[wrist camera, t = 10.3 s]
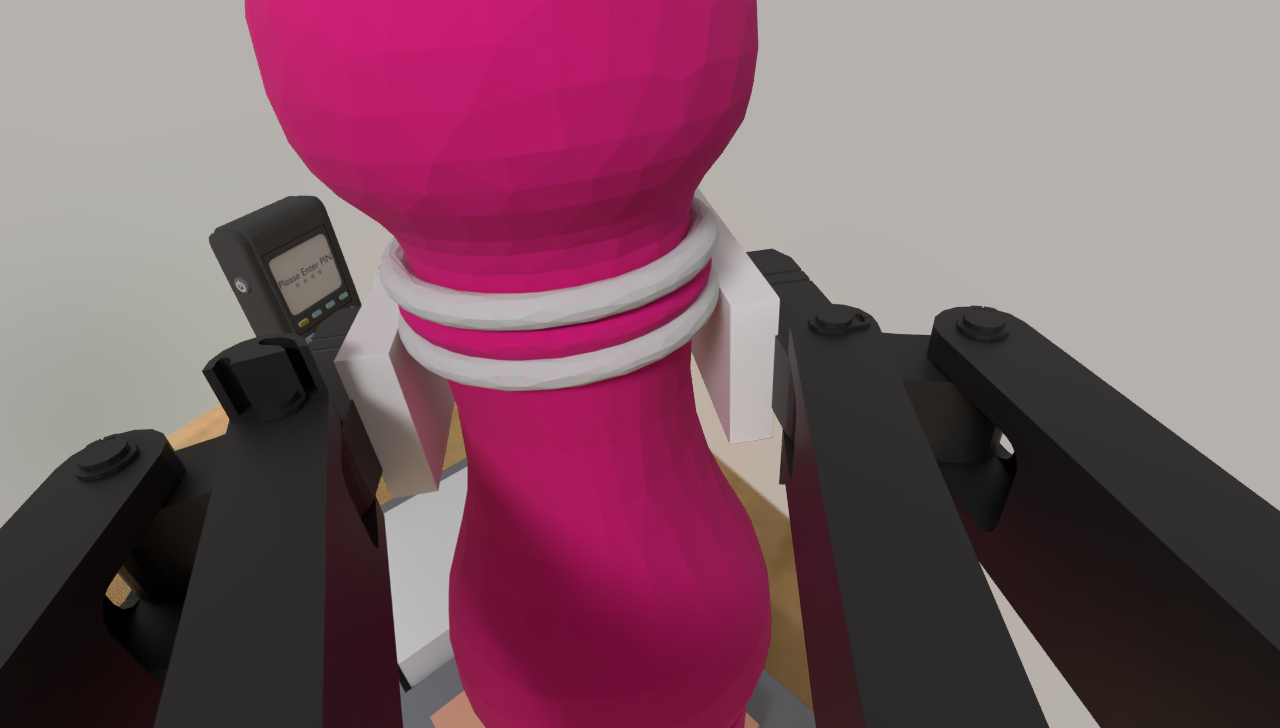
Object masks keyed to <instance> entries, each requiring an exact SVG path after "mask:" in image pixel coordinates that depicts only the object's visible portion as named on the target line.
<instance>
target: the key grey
mask: <svg viewBox="0 0 1280 728" xmlns="http://www.w3.org/2000/svg"><path fill="white" fill-rule="evenodd" d="M466 494H467V467H465V468H464V469H462V470H460V471H458V472H456V473H455V474H453V475H451V476H449V477H448V478H446V479H444V480H442V481H441V482H440V485H439V490H438V491H436V492H430V493H424V494H418V495H416V496H414V497H412V498H410V499H409V500H407V501H405V502H403V503H402V504H400V505H398V506H396V507H395V508H393V509H391V510H389V511H387V512H386V513H384V516H385V528H386V539H387V550H388V561H389V573H390V584H391V595H392V606H393V617H394V629H395V640H396V651H397V662H398V666H399V667H400V669H401V671H402V673H403V674H404V676H405V678H406V680H407V681H408V683H409V685H410V686H411V688H413V687H414V686H416V685H417V684H418V683H420V682H421V681H422V680H424V679H425V678H427V677H428V676H429V675H431V674H432V673H433V672H435V671H436V670H437V669H439V668H440V667H441V666H443V665H444V664H446V663H447V662H448V661H450V660H451V659H452V658H454V653H453V649H452V646H451V642H450V634H449V611H448V607H449V574H450V570H451V565H452V561H453V557H454V552H455V548H456V543H457V539H458V535H459V530H460V526H461V522H462V517H463V511H464V505H465V500H466Z"/></svg>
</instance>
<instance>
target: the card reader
mask: <svg viewBox="0 0 1280 728" xmlns="http://www.w3.org/2000/svg"><path fill="white" fill-rule="evenodd" d="M209 242H210V245H211V248H212V250H213V252H214V254H215V256H216V258H217V260H218V262H219V264H220V266H221V268H222V270H223V272H224V274H225V276H226V278H227V280H228V282H229V284H230V286H231V288H232V290H233V292H234V293H235V295H236V297H237V299H238V301H239V303H240V305H241V307H242V309H243V311H244V313H245V315H246V317H247V319H248V321H249V323H250V325H251V327H252V329H253V331H254V333H255V335H256V337H259V336H264V335H270V334H276V333H294V334H297V335H299V336H302V337H304V338H305V340H306V342H307V344H308V343H309V342H310V341H312V339H311V338H312V337H313V335H314V333H315V332H316V330H317V328H318V327H319V325H320V323H322V322H323V321H324V320H326V319H327V318H328V317H329V316H331V315H332V314H333V313H335V312H336V311H337V310H338V309H344V308H351V307H359V306H362V305H361V302H360V299H359V297H358V294H357V291H356V288H355V286H354V283H353V280H352V278H351V275H350V272H349V270H348V267H347V264H346V262H345V259H344V256H343V254H342V251H341V248H340V246H339V243H338V240H337V238H336V235H335V232H334V230H333V227H332V224H331V222H330V219H329V216H328V214H327V211H326V209H325V207H324V205H323V203H322V202H321V201H320V200H319V199H318V198H317V197H315V196H289V197H286V198H284V199H282V200H279V201H277V202H275V203H272V204H270V205H268V206H266V207H263V208H261V209H259V210H257V211H254V212H252V213H250V214H247V215H245V216H243V217H241V218H238V219H236V220H234V221H232V222H229V223H227V224H225V225H223V226H220V227H218V228H216V229H215V231H214V233H213V234H211V235H210V237H209Z"/></svg>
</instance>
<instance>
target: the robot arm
mask: <svg viewBox="0 0 1280 728" xmlns="http://www.w3.org/2000/svg"><path fill="white" fill-rule="evenodd" d="M694 197H696V198H698V199H700V200H701V201H702V202H703V203H704V204H705V205H706V206H707V207H708V208H709V209H710V210H711V211H712V213H713V214H714V216H715V218H716V221H717V224H718V229H719V235H718V241H717V245H716V248H715V251H714V253H713V255H712V266H713V268H714V270H715V272H716V274H717V278H718V282H719V296H718V301H717V304H716V307H715V310H714V312H713V313H712V315H711V317H710V319H709V321H708V322H707V324H706V325H705V326H704V327H703V328H702V329H701V330H700V331H699V332H698V333H697V334H696V335H695V336H694V337H693V338H692V346H691V351H692V353H693V356H694V358H695V361H696V363H697V366H698V368H699V371H700V373H701V375H702V378H703V380H704V383H705V385H706V388H707V390H708V392H709V395H710V397H711V400H712V402H713V405H714V407H715V409H716V412H717V414H718V417H719V419H720V422H721V424H722V426H723V429H724V431H725V434H726V436H727V439H728V441H729V444H736V443H742V442H748V441H755V440H761V439H768V438H772V435H773V416H774V415H773V414H774V413H775V414H776V417H777V419H778V420H779V422H780V424H781V425H782V428H783V434H782V450H781V466H780V480H779V484H786V492H787V500H788V508H789V516H790V524H791V532H792V540H793V549H794V557H795V565H796V573H797V581H798V589H799V597H800V605H801V613H802V621H803V629H804V637H805V645H806V653H807V661H808V669H809V677H810V685H811V693H812V701H813V709H814V717H815V725H816V728H1049V726H1048V724H1047V721H1046V719H1045V716H1044V714H1043V712H1042V710H1041V707H1040V705H1039V702H1038V700H1037V698H1036V695H1035V693H1034V691H1033V688H1032V686H1031V683H1030V681H1029V679H1028V676H1027V674H1026V672H1025V669H1024V667H1023V665H1022V662H1021V660H1020V658H1019V655H1018V653H1017V650H1016V648H1015V646H1014V643H1013V641H1012V639H1011V637H1010V634H1009V632H1008V629H1007V627H1006V624H1005V622H1004V620H1003V618H1002V615H1001V613H1000V610H999V608H998V606H997V603H996V601H995V599H994V596H993V594H992V591H991V589H990V587H989V584H988V582H987V580H986V577H985V575H984V573H983V570H982V568H981V566H980V563H981V565H982V566H983V567H984V569H985V570H986V572H987V573H988V574H989V575H990V577H991V578H992V580H993V581H994V583H995V584H996V585H997V587H998V588H999V589H1000V591H1001V592H1002V593H1003V595H1004V596H1005V598H1006V599H1007V600H1008V601H1009V603H1010V604H1011V606H1012V607H1013V608H1014V610H1015V611H1016V613H1017V614H1018V615H1019V617H1020V618H1021V619H1022V620H1023V622H1024V623H1025V625H1026V626H1027V627H1028V629H1029V630H1030V632H1031V633H1032V634H1033V636H1034V637H1035V639H1036V640H1037V641H1038V642H1039V644H1040V645H1041V647H1042V648H1043V649H1044V651H1045V652H1046V653H1047V655H1048V656H1049V658H1050V659H1051V660H1052V662H1053V663H1054V664H1055V666H1056V667H1057V669H1058V670H1059V671H1060V673H1061V674H1062V675H1063V677H1064V678H1065V680H1066V681H1067V682H1068V684H1069V685H1070V686H1071V688H1072V689H1073V690H1074V692H1075V693H1076V694H1077V696H1078V697H1079V699H1080V700H1081V701H1082V703H1083V704H1084V705H1085V707H1086V708H1087V709H1088V711H1089V712H1090V714H1091V715H1092V716H1093V718H1094V719H1095V721H1096V722H1097V723H1098V725H1099V726H1100V727H1101V728H1280V511H1279V510H1277V509H1276V508H1275V507H1273V506H1272V505H1271V504H1269V503H1268V502H1267V501H1265V500H1264V499H1263V498H1261V497H1260V496H1258V495H1257V494H1256V493H1255V492H1253V491H1252V490H1250V489H1249V488H1248V487H1246V486H1245V485H1244V484H1242V483H1241V482H1240V481H1238V480H1237V479H1236V478H1234V477H1233V476H1231V475H1230V474H1229V473H1227V472H1226V471H1225V470H1224V469H1222V468H1221V467H1219V466H1218V465H1217V464H1215V463H1214V462H1213V461H1211V460H1210V459H1209V458H1207V457H1206V456H1205V455H1203V454H1202V453H1200V452H1199V451H1198V450H1196V449H1195V448H1194V447H1193V446H1191V445H1190V444H1188V443H1187V442H1186V441H1184V440H1183V439H1182V438H1180V437H1179V436H1178V435H1176V434H1175V433H1174V432H1172V431H1171V430H1170V429H1168V428H1167V427H1166V426H1164V425H1163V424H1161V423H1160V422H1159V421H1157V420H1156V419H1155V418H1153V417H1152V416H1151V415H1149V414H1148V413H1146V412H1145V411H1144V410H1143V409H1141V408H1140V407H1138V406H1137V405H1136V404H1134V403H1133V402H1132V401H1130V400H1129V399H1128V398H1126V397H1125V396H1124V395H1122V394H1121V393H1120V392H1118V391H1117V390H1116V389H1114V388H1113V387H1112V386H1110V385H1109V384H1107V383H1106V382H1105V381H1103V380H1102V379H1101V378H1099V377H1098V376H1097V375H1095V374H1094V373H1093V372H1091V371H1090V370H1089V369H1087V368H1086V367H1085V366H1083V365H1082V364H1081V363H1079V362H1078V361H1077V360H1075V359H1074V358H1072V357H1071V356H1070V355H1068V354H1067V353H1066V352H1064V351H1063V350H1062V349H1060V348H1059V347H1058V346H1056V345H1055V344H1053V343H1052V342H1051V341H1050V340H1048V339H1047V338H1045V337H1044V336H1043V335H1041V334H1040V333H1039V332H1037V331H1036V330H1035V329H1033V328H1032V327H1031V326H1029V325H1028V324H1026V323H1025V322H1024V321H1022V320H1020V319H1018V318H1016V317H1014V316H1013V315H1011V314H1008V313H1005V312H1001V311H998V310H996V309H994V308H990V307H984V308H982V306H970V307H955V308H951V309H948V310H944V311H942V312H941V313H940V314H938V315H937V316H936V317H935V320H934V324H933V329H932V333H931V335H909V334H891V333H882V332H881V330H880V327H879V325H878V323H877V322H876V321H875V319H874V318H873V317H872V316H871V315H869V314H868V313H866V312H864V311H862V310H860V309H858V308H854V307H850V306H846V305H839V304H832V303H831V302H830V301H829V300H828V299H827V298H826V296H824V294H823V293H822V292H821V291H820V290H819V289H818V287H817V286H816V285H815V284H814V283H813V282H812V281H810V280H809V277H808V276H807V275H806V274H805V273H804V272H803V271H801V268H800V267H799V266H798V265H797V264H796V263H795V261H794V260H793V259H792V258H791V257H789V256H787V255H784V254H782V253H780V252H778V251H776V250H774V249H766V250H760V251H752V252H745V251H744V249H743V248H742V247H741V245H740V244H739V243H738V242H737V240H736V239H735V237H734V236H733V235H732V233H731V232H730V231H729V229H728V228H727V227H726V225H725V224H724V223H723V221H722V220H721V218H720V217H719V216H718V214H717V213H716V212H715V210H714V209H713V208H712V206H711V205H710V204H709V202H708V201H707V200H706V198H705V197H704V195H703V194H702V193H701V191H700V190H699V189H698V187H697V189H696V190H695V193H694ZM399 313H400V312H399V307H398V304H397V303H396V302H395V301H394V300H393V299H391V298H390V297H389V296H388V294H387V293H386V291H385V289H384V287H383V285H382V283H381V281H380V274H379V272H378V274H377V276H376V278H375V280H374V282H373V284H372V286H371V288H370V290H369V292H368V294H367V296H366V298H365V301H364V302H363V304H362V306H359V307H351V308H344V309H338V310H337V311H336V312H335V313H333V314H332V315H331V316H329V317H328V318H327V319H326V320H324V321H323V322H322V323H320V325H319V327H318V328H317V330H316V332H315V333H314V335H313V337H312V338H311V339H312V341H310V342H309V343H308V344H307V342H306V340H305V338H304V337H302V336H299V335H297V334H294V333H276V334H270V335H264V336H259V337H256V338H253V339H250V340H247V341H243V342H240V343H238V344H236V345H234V346H232V347H230V348H229V349H226V350H224V351H222V352H221V353H220V354H218V355H217V356H215V357H214V358H213V359H212V360H210V361H209V362H208V364H207V365H206V366H205V368H204V369H203V370H202V372H203V374H204V376H205V377H206V379H207V381H208V382H209V384H210V386H211V388H212V390H213V391H214V393H215V395H216V396H217V398H218V400H219V402H220V403H221V405H222V407H223V409H224V410H225V412H226V414H227V416H228V417H229V419H230V420H229V424H228V428H227V432H226V434H225V435H222V436H219V437H217V438H214V439H211V440H207V441H204V442H201V443H198V444H195V445H192V446H189V447H186V448H183V449H180V450H177V451H174V449H173V448H172V446H171V445H170V443H169V441H168V440H167V438H166V437H165V436H164V434H163V433H161V432H158V431H155V430H153V429H148V430H147V429H146V430H133V431H129V432H125V433H120V434H113V435H110V436H107V437H104V439H103V440H101V439H99V440H97V441H95V442H93V443H90V444H89V445H87V446H86V448H84V449H83V450H81V451H79V452H78V453H76V454H74V455H72V456H71V457H70V458H68V459H67V460H66V461H65V462H64V463H63V464H61V465H60V466H59V467H58V468H57V469H55V470H54V471H53V473H52V474H51V475H50V476H49V477H48V478H47V479H46V480H45V481H44V482H43V483H42V484H41V485H40V487H39V488H38V489H37V490H36V491H35V492H34V493H33V494H32V495H31V496H30V497H29V498H28V499H27V500H26V502H25V503H24V504H23V505H22V506H21V507H20V508H19V509H18V510H17V511H16V512H15V513H14V514H13V516H12V517H11V518H10V519H9V520H8V521H7V522H6V523H5V524H4V525H3V526H2V527H1V528H0V728H403V718H402V707H401V696H400V685H399V673H398V662H397V651H396V640H395V629H394V617H393V606H392V595H391V584H390V573H389V561H388V550H387V539H386V528H385V516H384V514H383V512H382V509H381V507H380V505H379V503H378V500H377V498H376V496H375V495H376V491H377V488H378V485H379V481H380V478H381V475H382V476H383V478H384V481H385V483H386V485H387V488H388V490H389V492H390V495H391V497H392V499H393V498H399V497H405V496H411V495H418V494H424V493H430V492H436V491H438V490H439V485H440V479H441V474H442V468H443V463H444V457H445V451H446V446H447V440H448V435H449V429H450V423H451V418H452V412H453V407H454V401H455V399H454V396H453V394H452V392H451V389H450V387H449V384H448V382H447V379H446V378H444V377H441V376H439V375H437V374H435V373H433V372H431V371H429V370H427V369H426V368H425V367H423V366H422V365H421V364H420V363H419V362H418V361H417V360H415V359H414V358H413V357H412V356H411V355H410V354H409V353H408V352H407V350H406V348H405V346H404V344H403V342H402V341H401V338H400V334H399V330H398V316H399ZM1002 433H1003V434H1004V435H1005V436H1006V437H1007V438H1008V440H1009V441H1010V443H1011V444H1012V447H1013V449H1014V453H1013V455H1012V454H1010V453H1009V452H1008V451H1007V450H1006V449H1005V448H1004V447H1003V446H1002V445H1001V444H1000V439H1001V436H1002ZM979 562H980V563H979ZM117 573H118V574H119V575H120V576H121V578H122V579H123V580H124V581H125V582H126V583H127V584H128V586H129V587H130V588H131V589H132V590H131V592H130V594H129V595H128V597H127V598H126V600H125V601H124V602H123V603H122V604H121V605H120V606H119V607H118V606H116V605H114V604H113V603H112V602H111V600H110V599H109V598H108V597H107V596H106V595H105V594H106V591H107V589H108V587H109V585H110V583H111V582H112V580H113V579H114V577H115V576H116V574H117Z"/></svg>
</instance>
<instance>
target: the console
mask: <svg viewBox="0 0 1280 728" xmlns="http://www.w3.org/2000/svg"><path fill="white" fill-rule="evenodd" d="M465 467H467V458H465V459H464V460H462V461H460V462H458V463H457V464H455V465H453V466H451V467H449V468H448V469H446V470H444V471H442V474H441V479H440V482H441V481H442V480H444V479H446V478H448V477H449V476H451V475H453V474H455V473H456V472H458V471H460V470H462V469H464V468H465ZM414 496H416V495H411V496H405V497H399V498H394V499H392V500H390V501H388V502H386V503H385V504H383V505H381V506H380V507H381V509H382V512H383V514H384V513H386V512H387V511H389V510H391V509H393V508H395V507H396V506H398V505H400V504H402V503H403V502H405V501H407V500H409V499H410V498H412V497H414ZM398 673H399V685H400V696H401V707H402V718H403V728H435V726H434V724H433V722H432V720H431V718H430V716H432V715H433V714H434V713H436V712H437V711H438V710H439V709H441V708H442V707H443V706H445V705H446V704H447V703H449V702H450V701H451V700H452V699H454V698H455V697H456V696H458V695H459V694H460V693H461V692H463V691H464V689H463V687H462V683H461V679H460V676H459V672H458V668H457V664H456V661H455V657H454V658H452V659H451V660H450V661H448V662H447V663H446V664H444V665H443V666H441V667H440V668H439V669H437V670H436V671H435V672H433V673H432V674H431V675H429V676H428V677H427V678H425V679H424V680H422V681H421V682H420V683H418V684H417V685H416V686H414V687H413V688H411V686H410V685H409V683H408V681H407V680H406V678H405V676H404V674H403V673H402V671H401V669H400V667H399V666H398ZM746 713H747V714H748V715H750V716H751V717H752V718H753V719H754V720H755V721H756V722H757V723H758V724H759V728H816V725H815V717H814V712H812V711H811V710H810V709H809V708H808V707H807V706H806V705H805V704H803V703H802V702H801V701H800V700H799V699H798V698H797V697H795V696H794V695H793V694H792V693H791V692H790V691H789V690H787V689H786V688H785V687H784V686H783V685H782V684H781V683H780V682H778V681H777V680H776V679H775V678H774V677H773V676H772V675H770V674H769V673H768V672H767V671H766V670H765V669H763V671H762V673H761V676H760V678H759V680H758V683H757V685H756V687H755V690H754V692H753V694H752V697H751V699H750V700H749V702H748V703H747V705H746Z"/></svg>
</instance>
